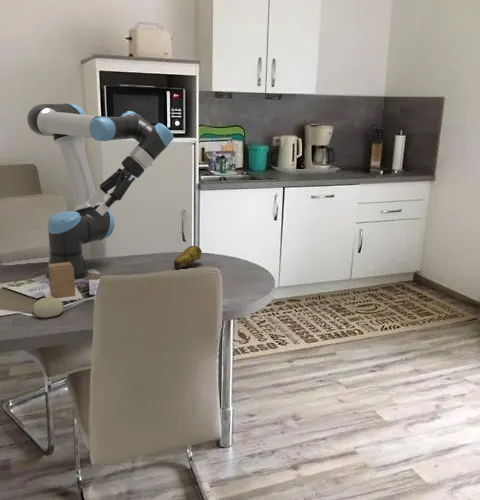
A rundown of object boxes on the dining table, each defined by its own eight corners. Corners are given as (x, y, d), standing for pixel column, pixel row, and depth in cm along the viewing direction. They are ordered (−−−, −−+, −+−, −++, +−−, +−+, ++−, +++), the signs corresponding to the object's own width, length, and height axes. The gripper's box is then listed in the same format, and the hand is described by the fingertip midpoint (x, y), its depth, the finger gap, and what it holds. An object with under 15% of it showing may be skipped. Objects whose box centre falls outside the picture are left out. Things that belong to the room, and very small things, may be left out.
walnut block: (50, 291, 193) (48, 264, 190) (71, 289, 196) (69, 261, 193) (53, 298, 187) (51, 270, 184) (75, 295, 190) (73, 267, 187)
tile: (43, 294, 194) (43, 290, 193) (76, 290, 198) (76, 286, 198) (48, 305, 184) (48, 301, 184) (82, 300, 189) (82, 297, 189)
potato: (168, 265, 229) (168, 246, 227) (197, 261, 235) (197, 243, 233) (176, 271, 222) (176, 251, 220) (206, 267, 228) (206, 248, 226)
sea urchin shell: (34, 316, 171) (31, 292, 174) (34, 326, 177) (31, 303, 181) (65, 312, 174) (62, 289, 178) (64, 322, 181) (61, 299, 184)
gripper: (156, 175, 182) (111, 224, 180) (134, 165, 204) (94, 208, 201) (139, 159, 178) (94, 208, 176) (119, 150, 200) (78, 195, 198)
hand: (94, 209), depth 189 cm, fingers open, 13 cm apart
